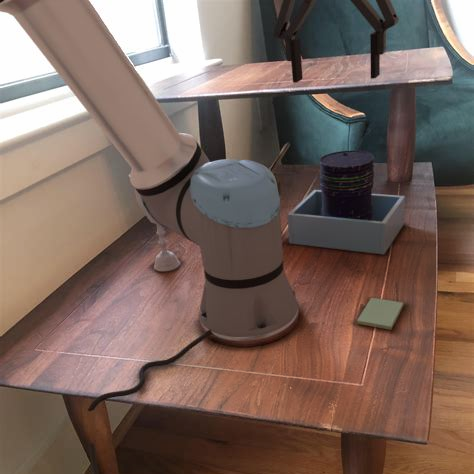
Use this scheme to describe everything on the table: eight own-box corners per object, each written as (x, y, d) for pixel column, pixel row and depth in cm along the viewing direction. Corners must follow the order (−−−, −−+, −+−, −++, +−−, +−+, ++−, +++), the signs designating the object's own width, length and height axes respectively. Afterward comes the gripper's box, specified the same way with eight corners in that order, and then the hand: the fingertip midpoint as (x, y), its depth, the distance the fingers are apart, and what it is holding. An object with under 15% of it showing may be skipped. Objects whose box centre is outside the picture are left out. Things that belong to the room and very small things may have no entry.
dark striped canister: (376, 242, 102) (378, 164, 95) (323, 246, 104) (321, 169, 96) (368, 222, 111) (370, 148, 103) (319, 226, 112) (317, 153, 104)
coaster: (391, 330, 78) (391, 326, 78) (356, 323, 80) (357, 320, 80) (403, 305, 83) (403, 302, 83) (371, 300, 85) (371, 297, 85)
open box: (384, 254, 98) (385, 223, 95) (289, 243, 106) (287, 214, 103) (403, 225, 108) (405, 195, 105) (315, 216, 116) (314, 189, 113)
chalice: (192, 259, 105) (176, 166, 96) (174, 275, 100) (156, 179, 91) (160, 255, 108) (142, 165, 99) (141, 271, 103) (120, 178, 94)
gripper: (421, -90, 78) (415, 69, 90) (263, -61, 89) (276, 77, 101) (409, -89, 73) (405, 80, 84) (243, -59, 84) (259, 87, 95)
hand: (335, 79), depth 93 cm, fingers open, 13 cm apart
